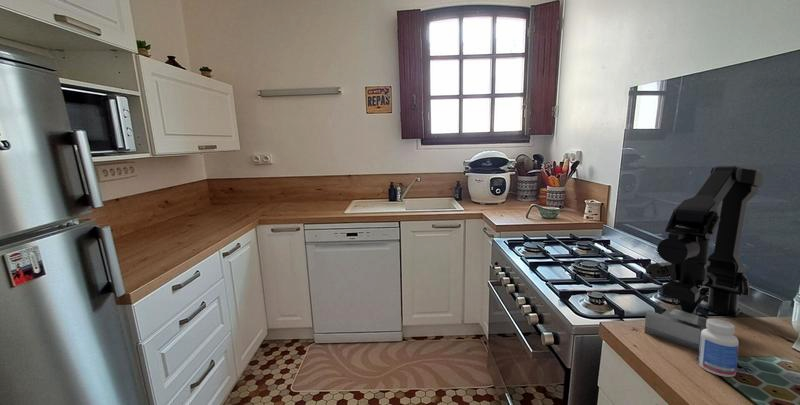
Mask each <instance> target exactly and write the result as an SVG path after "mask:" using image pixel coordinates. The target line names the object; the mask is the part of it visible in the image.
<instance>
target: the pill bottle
mask: <svg viewBox="0 0 800 405" xmlns="http://www.w3.org/2000/svg"><path fill="white" fill-rule="evenodd" d="M706 327H707V328H706V329H703V330H702V331H701V337H700V350H699V352H698V365H699V366H700V367H701V368H702V369H703V370H704V371H707V372H709V373H711V374H713V375H716V376H720V377H725V378H733V377H735V376H736V375H737V368H738V366H737V365H738V354H739V347H740V346H739V339H738V337H737V336H735V335H734V334H735V329H736V328H735V327H736V326H735V325H734V324H733V323H731V322H729V321H726V320H722V319H718V318H707V320H706Z"/></svg>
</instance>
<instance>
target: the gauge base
mask: <svg viewBox="0 0 800 405" xmlns="http://www.w3.org/2000/svg"><path fill="white" fill-rule="evenodd" d="M674 309H675V308H667V309H666V310H665V311H663V312H662V313H659V312H656V311H655V312H654V311H652V310H648V311H646V312H645V320H644V321H645V322H644V333H645V334H649V335H651V334H652V336H654V337H657V336H658V338H660V337H661V339H664V340H666V341H668V342H671V343H675V344H677V343H678V345H681V346H683V347H685V348H686V347H687V348H690V349H692V350H695V351H697V352H698V351H699V350H700V337H701V331H702V330H703V329H706V328H707V327H706V320H707V319H708V318H706V317H702V316H699V315H698V323H697V325H696V324H692V323H689V322H686V321H682V320H679V319H675V318H672V317H669V313H670V312H672V311H673V310H674Z"/></svg>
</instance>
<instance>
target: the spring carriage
mask: <svg viewBox="0 0 800 405" xmlns="http://www.w3.org/2000/svg"><path fill="white" fill-rule="evenodd" d="M673 309H674V310H673V311H672V312H670V313H669V317H672V318H675V319H679V320H682V321H686V322H689V323H692V324H696V325H697V323H698V316H699V315H697V314H694V313H693V314H691V313H688V312H684V311H682V310H679V309H678V308H677V309H675V308H673Z"/></svg>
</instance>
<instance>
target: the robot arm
mask: <svg viewBox="0 0 800 405" xmlns="http://www.w3.org/2000/svg"><path fill="white" fill-rule="evenodd" d="M763 177H764V176H763V173H761V172H759V171H758V170H757V169H756V168H753V169H751V168H743V167H741V166H737V165H720V166H719V165H718V166H715V167H714V166H713V167H712V168H711V170H710V175H709V176H708V178H707V179H706V180H705V182H704V183H702V185H701V186H700V188H699V190H698V191H697V192H696V194H694V196H693V197H690V198H687V199H684V200H683V201H681V203H679V204H678V206H677V207H676V208H674V209H673V211H672V214H671V216H670V219H669V221H668V223H667V225H666V228H665V232H666V233H668V234H667V235H668V237H667V238H664V239H662V240H661V241H660V242H659V243H658V245H657V248H656V251H657V253H658V255H659V257H660V258H661V259H662V260H663V261H665V262H655V263H653V262H651V263H648V265H646V267H645V273H646V274H647V275H648V276H649V278H650V279H651V280H655V279H657V278H658V279H660V278H669V281H668V282H665V283H664V284H662V285H661V286H660V294H661V296H666V297H669V298H672V299H673V298H674V299H677V300H678V302H679V305H680V308H681V311H684V312H688V313H691V314H694V313H695V311H696V310H697V308H698V307H699V306H700V305H701V303H702V302H703V300H704V299H705V298H706V296H707V295H708V298H707V299H708V300H707V303H706V304H705V305H704V306H703V307H702V308H703V310H706V311H710V312H714V313H718V314H721V315H725V316H730V317H733V318H736V317H737V316H738V315H739V314H740V313H741V311H742V309H741V308H738V303H739V302H738V301H739V296H749V295H750V282H749V279H748V276H747V274H746V273H745V265H744V263H743V262H742V260H741V259H740V257H739V256H738V255H739V248H740V243H741V238H742V231H743V226H744V220H745V213H746V209H747V208H746V207H747V204H748V202H750V200H752V198H754V197H755V196H756V195H757V194H758V191H759V188H760V187H761V186H762V184H763V180H764V178H763ZM720 205H721V207H720V211H719V212H720V213H719V212H718V207H719V206H720ZM716 230H717V232H716ZM715 232H716V237H715V242H714V243H715V244H714V250H713V252H712V253H711V254H710V255H709V251H710V250H709V249H710V237H711V236H712V235H714V233H715ZM702 287H706V288H708V289H703V288H702Z"/></svg>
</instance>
